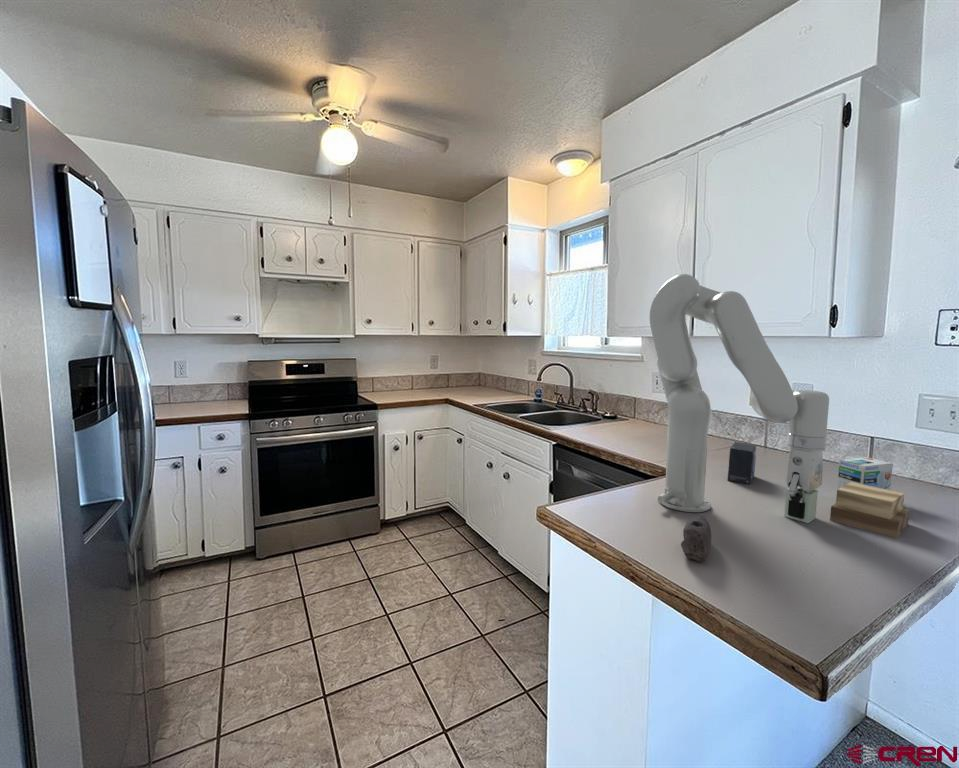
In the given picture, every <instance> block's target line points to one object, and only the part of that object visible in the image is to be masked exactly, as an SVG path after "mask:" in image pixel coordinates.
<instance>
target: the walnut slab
mask: <svg viewBox="0 0 959 768" xmlns="http://www.w3.org/2000/svg"><path fill="white" fill-rule="evenodd" d="M829 516H830V517H829V521H832V522H835V523H838V524H843V525H847V526H850V527H854V528H858V529H862V530H865V531H869V532H873V533H877V534H880V535H884V536H888V537H892V538H895V539H898V537H899V536H900V535H901V534H902V532H903V531H904V530H905V528H906V527H907V526H908V525H909V516H910V509H907V508H903V510H901V511H900V512H899V513H898V514H896V515H895V516H894V517H893V518H891V519H887V518H883V517H879V516H875V515H871V514H867V513H863V512H859V511H855V510H852V509H848V508H844V507H840V506H836V502H835V503H834V504H833V505H831V506H830V515H829Z"/></svg>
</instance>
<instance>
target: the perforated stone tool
mask: <svg viewBox="0 0 959 768" xmlns="http://www.w3.org/2000/svg"><path fill="white" fill-rule="evenodd" d="M711 544H712V528H711V525H710V522H709V521H708V520H707V518H705V516H701V515H696V516H694V517H692V518H690V519H689V520H688V521H687V523H685V526H684V528H683V540H682V542H681V543H680V547H681V549H682V552H683V555H684V556H685V557H686V558H688V559H690V560H694V561H696V562H698V563H702V562H704V561H705V560H706V559H707V557H708V555H709V552H710V550H711V549H710V548H711Z"/></svg>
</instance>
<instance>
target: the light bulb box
mask: <svg viewBox="0 0 959 768" xmlns="http://www.w3.org/2000/svg"><path fill="white" fill-rule="evenodd" d="M893 467H894V463H892V462H888V461H885V460H879V459H876V458H873V457H868V456H864V457H855V458H854V457H852V458H847V459H846V458H845V459H839V464H838V475H837V488H836V490H837V489H839V488H841V487H843V486H845V485H846V484H848V483H850V482H854V483H859V484H864V485H868V486H873V487H878V488H882V489H887V490H891V485H892V476H893Z"/></svg>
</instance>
